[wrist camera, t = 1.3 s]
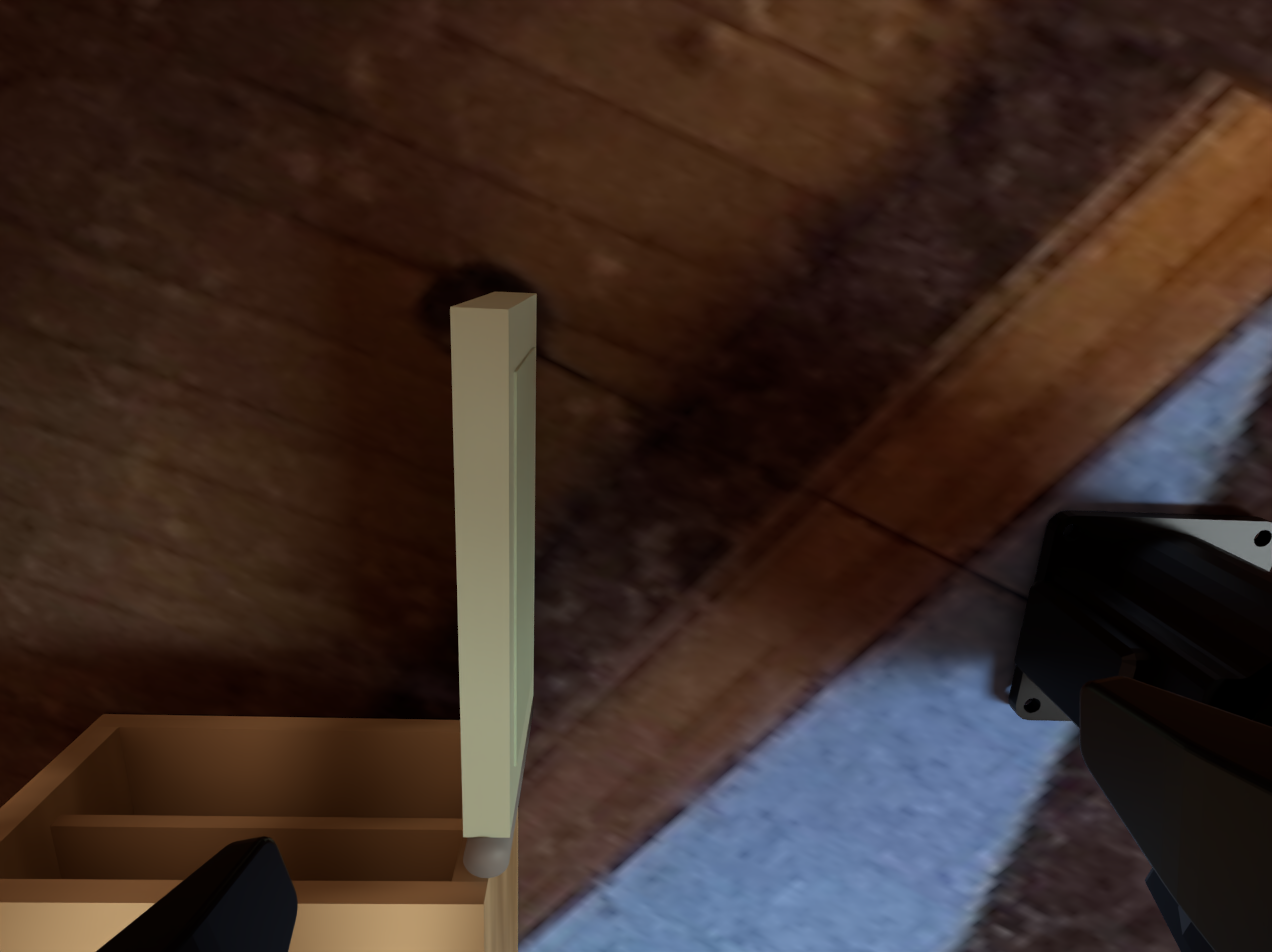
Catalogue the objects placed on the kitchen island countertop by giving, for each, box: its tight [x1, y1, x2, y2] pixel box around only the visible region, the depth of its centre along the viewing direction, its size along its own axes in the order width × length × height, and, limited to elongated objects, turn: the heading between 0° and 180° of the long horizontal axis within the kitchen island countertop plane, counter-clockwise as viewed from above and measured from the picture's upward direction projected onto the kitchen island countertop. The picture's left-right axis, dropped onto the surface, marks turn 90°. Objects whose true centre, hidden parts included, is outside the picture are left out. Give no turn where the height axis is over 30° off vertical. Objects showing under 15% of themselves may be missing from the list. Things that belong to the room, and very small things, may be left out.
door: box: [450, 292, 537, 878], centre depth 17 cm, size 12×1×6 cm, turn 177°
